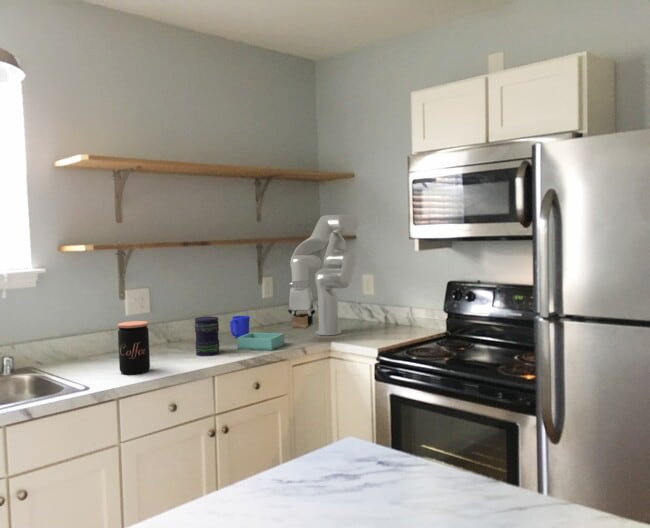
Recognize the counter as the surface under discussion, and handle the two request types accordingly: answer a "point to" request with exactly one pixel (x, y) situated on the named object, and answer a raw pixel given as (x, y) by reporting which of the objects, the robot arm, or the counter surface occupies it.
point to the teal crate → (260, 341)
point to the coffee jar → (133, 347)
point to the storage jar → (207, 336)
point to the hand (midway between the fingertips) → (302, 323)
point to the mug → (239, 326)
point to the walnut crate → (300, 321)
